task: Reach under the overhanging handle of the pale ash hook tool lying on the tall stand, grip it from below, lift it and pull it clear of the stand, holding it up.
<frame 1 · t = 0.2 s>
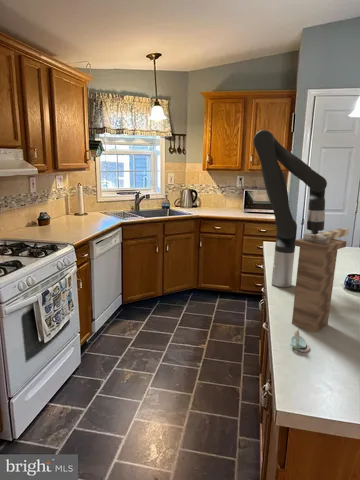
hand: (313, 253, 163), 17 cm above the worktop, tool pointing down, fingers open, 8 cm apart
stand: (311, 323, 131), on the worktop
pacifier: (299, 348, 113), on the worktop
hook tool: (330, 238, 128), point 32 cm above the worktop, touching stand
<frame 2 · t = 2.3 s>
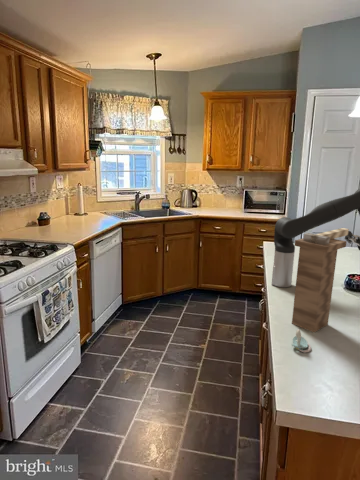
hand: (358, 234, 145), 30 cm above the worktop, tool pointing upward, fingers open, 8 cm apart
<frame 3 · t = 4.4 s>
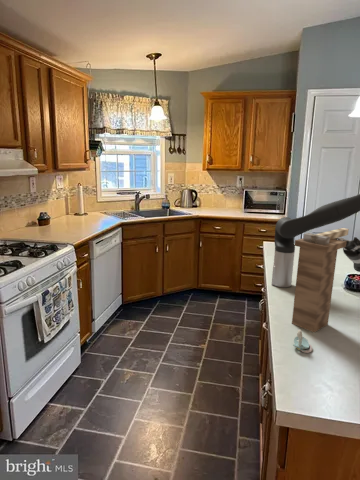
hand: (343, 237, 135), 31 cm above the worktop, tool pointing upward, fingers open, 8 cm apart
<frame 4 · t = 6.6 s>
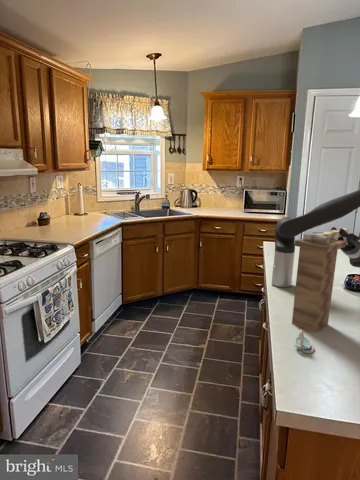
hand: (336, 229, 130), 35 cm above the worktop, tool pointing upward, fingers closed on hook tool, 2 cm apart
hook tool: (330, 238, 128), point 32 cm above the worktop, touching gripper, stand
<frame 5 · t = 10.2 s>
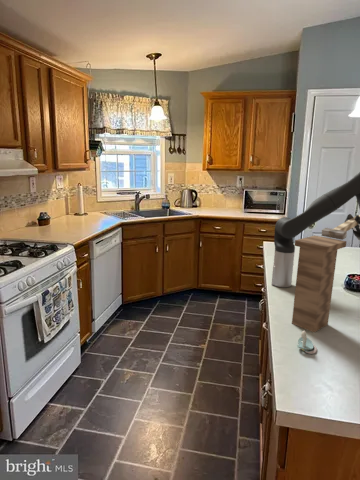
hand: (352, 216, 137), 39 cm above the worktop, tool pointing upward, fingers closed on hook tool, 2 cm apart
hook tool: (346, 228, 136), point 34 cm above the worktop, tilted 10°, touching gripper
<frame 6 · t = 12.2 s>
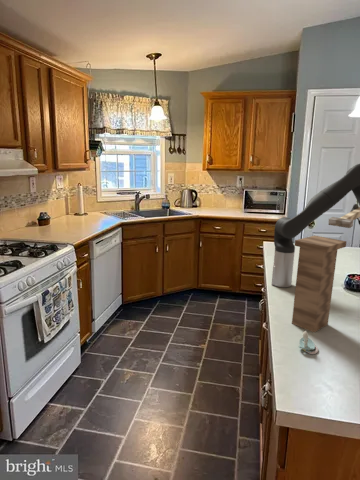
hand: (358, 206, 139), 42 cm above the worktop, tool pointing upward, fingers closed on hook tool, 2 cm apart
hook tool: (353, 218, 138), point 38 cm above the worktop, tilted 10°, touching gripper
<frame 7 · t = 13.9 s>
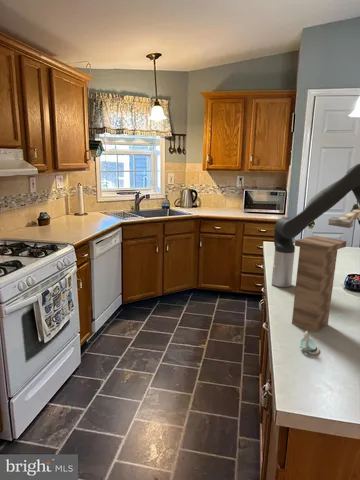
hand: (358, 206, 139), 42 cm above the worktop, tool pointing upward, fingers closed on hook tool, 2 cm apart
hook tool: (353, 218, 138), point 38 cm above the worktop, tilted 10°, touching gripper
at the end: the gripper is holding hook tool; hook tool touching gripper; hook tool point 37.9 cm above the worktop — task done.
